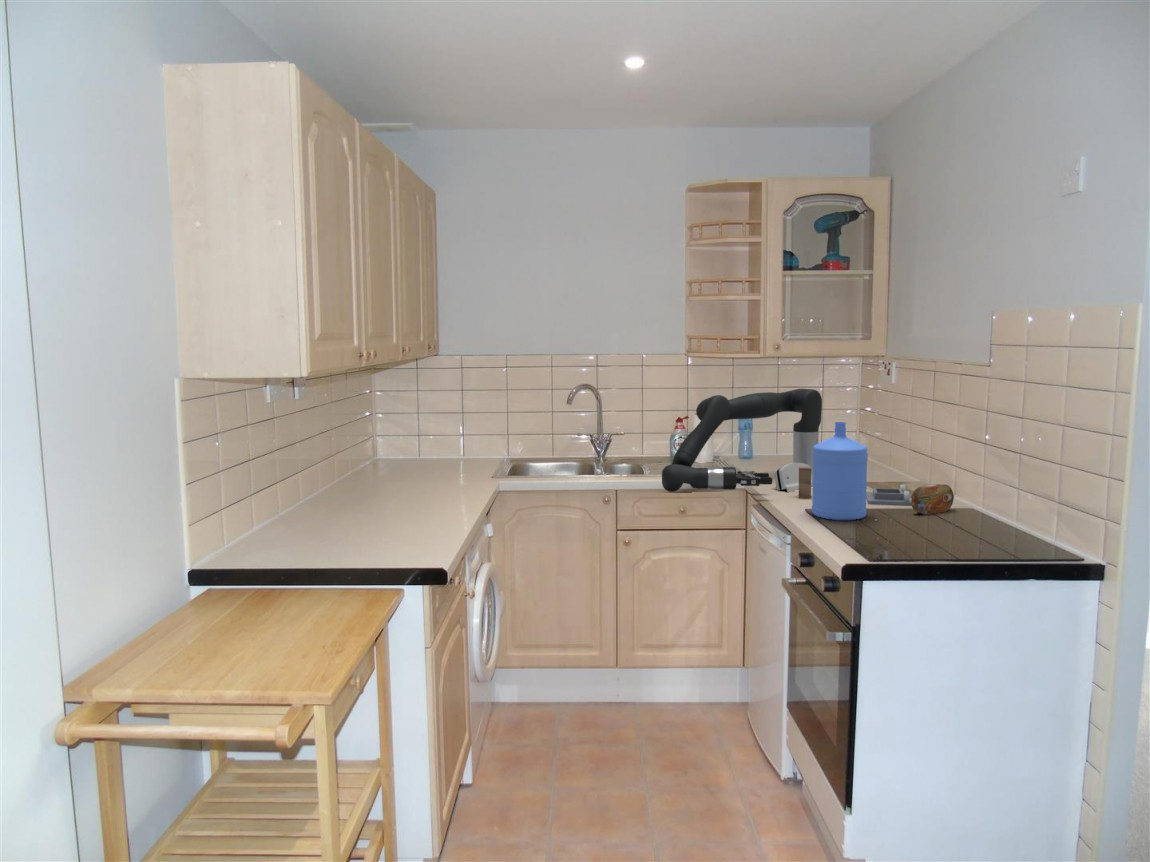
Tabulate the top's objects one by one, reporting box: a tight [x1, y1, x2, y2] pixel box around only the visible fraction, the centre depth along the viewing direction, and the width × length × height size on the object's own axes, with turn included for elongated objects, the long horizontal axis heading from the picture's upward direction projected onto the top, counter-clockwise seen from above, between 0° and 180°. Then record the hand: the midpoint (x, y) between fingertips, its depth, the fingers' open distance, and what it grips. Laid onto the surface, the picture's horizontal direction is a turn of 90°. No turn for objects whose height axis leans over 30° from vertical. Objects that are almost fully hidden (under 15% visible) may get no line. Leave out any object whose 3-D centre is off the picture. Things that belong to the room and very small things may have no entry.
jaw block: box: [798, 467, 812, 499], centre depth 268 cm, size 4×4×10 cm
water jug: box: [811, 421, 869, 521], centre depth 240 cm, size 16×16×28 cm
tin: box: [910, 483, 955, 516], centre depth 243 cm, size 15×3×8 cm, turn 114°
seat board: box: [866, 484, 912, 507], centre depth 261 cm, size 15×13×4 cm
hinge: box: [773, 462, 813, 493], centre depth 284 cm, size 17×5×10 cm, turn 125°
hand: (770, 478), depth 269 cm, fingers open, 8 cm apart
